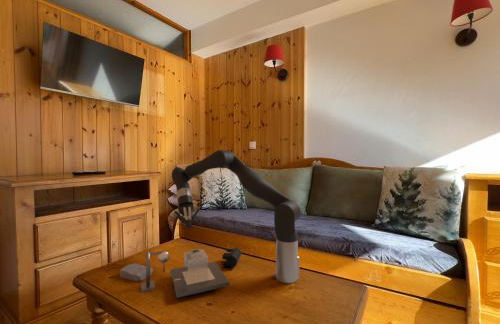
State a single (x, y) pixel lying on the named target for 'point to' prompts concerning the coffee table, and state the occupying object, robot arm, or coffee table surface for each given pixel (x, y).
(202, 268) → the cover
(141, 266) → the stone block
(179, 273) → the grey flat square slab
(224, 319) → the coffee table surface
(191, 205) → the robot arm
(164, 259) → the dial indicator stand
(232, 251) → the end cap
